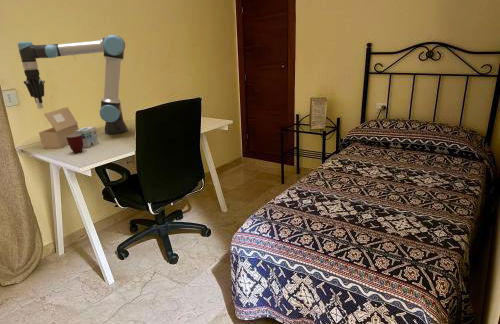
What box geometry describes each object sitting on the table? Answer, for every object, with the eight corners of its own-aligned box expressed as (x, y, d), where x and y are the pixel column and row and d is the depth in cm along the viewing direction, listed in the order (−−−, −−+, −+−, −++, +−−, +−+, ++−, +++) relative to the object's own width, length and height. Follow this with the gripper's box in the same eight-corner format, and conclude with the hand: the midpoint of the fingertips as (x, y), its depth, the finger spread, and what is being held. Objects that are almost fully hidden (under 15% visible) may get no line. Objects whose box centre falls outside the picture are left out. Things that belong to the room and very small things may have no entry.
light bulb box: (88, 148, 208) (84, 130, 205) (78, 147, 210) (74, 130, 206) (99, 142, 218) (95, 126, 214) (89, 142, 220) (86, 126, 216)
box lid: (77, 123, 225) (78, 123, 225) (56, 131, 207) (56, 131, 206) (66, 107, 222) (67, 106, 222) (44, 114, 204) (45, 113, 204)
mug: (73, 149, 207) (69, 133, 203) (87, 148, 208) (84, 132, 205) (68, 154, 197) (64, 138, 194) (83, 153, 199) (79, 136, 195)
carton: (80, 139, 229) (77, 124, 225) (60, 148, 210) (56, 132, 207) (64, 139, 231) (61, 124, 227) (42, 148, 212) (38, 132, 209)
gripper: (16, 69, 204) (26, 109, 212) (35, 69, 201) (45, 109, 209) (26, 68, 211) (36, 107, 219) (45, 68, 208) (54, 107, 216)
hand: (40, 108), depth 214 cm, fingers closed
